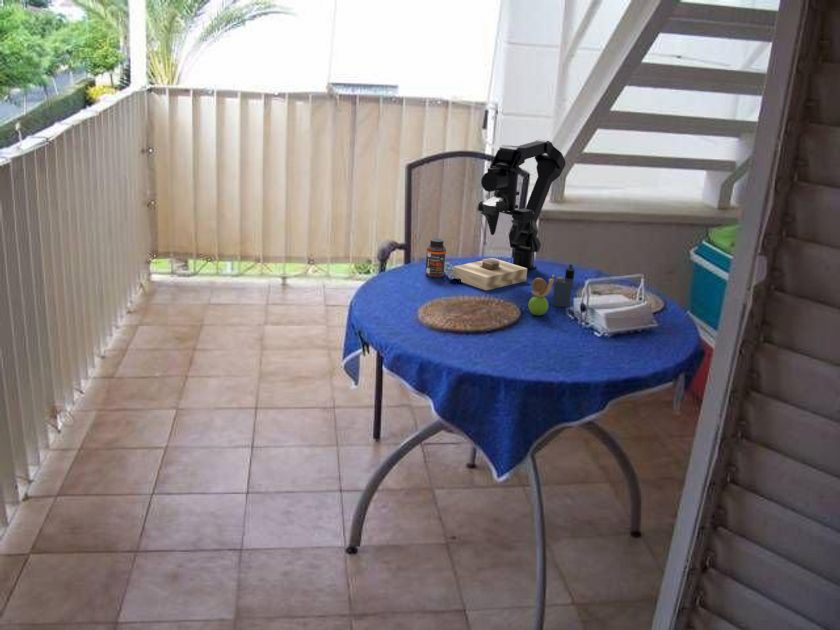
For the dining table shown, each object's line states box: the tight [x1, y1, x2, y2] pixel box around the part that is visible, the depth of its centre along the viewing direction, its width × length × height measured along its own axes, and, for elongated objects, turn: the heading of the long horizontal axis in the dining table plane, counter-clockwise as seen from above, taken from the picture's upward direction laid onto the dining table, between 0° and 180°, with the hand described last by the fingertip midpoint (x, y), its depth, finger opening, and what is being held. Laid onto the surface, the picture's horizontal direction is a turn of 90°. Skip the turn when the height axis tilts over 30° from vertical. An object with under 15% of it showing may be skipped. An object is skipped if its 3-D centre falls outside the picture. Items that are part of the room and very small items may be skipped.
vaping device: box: [552, 264, 576, 308], centre depth 232 cm, size 3×5×12 cm, turn 89°
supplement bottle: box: [424, 238, 447, 278], centre depth 255 cm, size 6×6×11 cm
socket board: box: [452, 257, 528, 291], centre depth 254 cm, size 18×14×4 cm
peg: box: [481, 257, 501, 271], centre depth 254 cm, size 4×4×6 cm
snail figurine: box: [527, 274, 556, 316], centre depth 223 cm, size 5×6×12 cm
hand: (503, 237), depth 257 cm, fingers open, 9 cm apart
